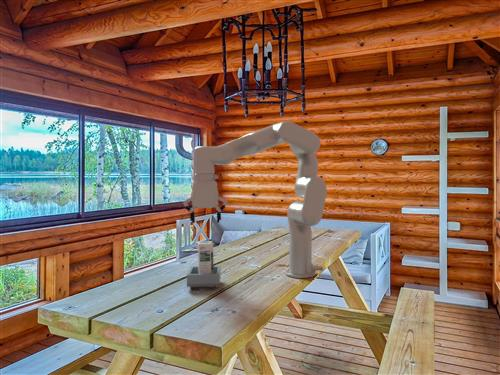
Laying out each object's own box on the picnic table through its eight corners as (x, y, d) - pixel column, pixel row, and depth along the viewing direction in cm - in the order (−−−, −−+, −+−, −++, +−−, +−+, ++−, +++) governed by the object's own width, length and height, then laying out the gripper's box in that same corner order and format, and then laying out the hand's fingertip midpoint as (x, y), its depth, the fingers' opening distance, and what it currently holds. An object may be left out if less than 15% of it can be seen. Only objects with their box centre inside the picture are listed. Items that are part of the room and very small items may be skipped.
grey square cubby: (220, 280, 153) (220, 266, 153) (219, 290, 141) (218, 274, 141) (191, 281, 153) (190, 266, 152) (187, 290, 141) (186, 274, 140)
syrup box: (198, 281, 143) (198, 243, 143) (198, 277, 149) (197, 241, 149) (213, 280, 144) (213, 243, 144) (212, 276, 150) (212, 240, 150)
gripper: (227, 177, 149) (228, 220, 150) (183, 178, 148) (184, 221, 149) (226, 178, 141) (227, 223, 142) (180, 179, 141) (182, 224, 142)
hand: (205, 222), depth 146 cm, fingers open, 9 cm apart
